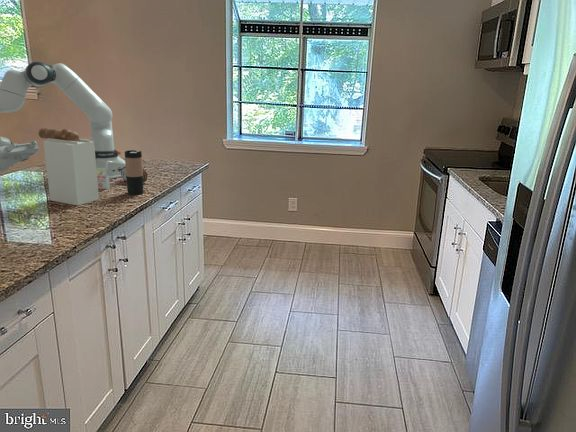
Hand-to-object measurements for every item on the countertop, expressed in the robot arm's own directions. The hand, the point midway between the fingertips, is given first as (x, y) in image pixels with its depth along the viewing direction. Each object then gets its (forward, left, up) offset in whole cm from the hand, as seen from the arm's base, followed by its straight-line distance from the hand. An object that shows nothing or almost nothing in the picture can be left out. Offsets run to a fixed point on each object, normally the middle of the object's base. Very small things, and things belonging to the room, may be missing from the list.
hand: (25, 143), depth 200 cm
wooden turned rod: (-11, +18, +3) cm, 21 cm away
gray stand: (-13, +23, -23) cm, 35 cm away
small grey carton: (-29, +8, -23) cm, 38 cm away
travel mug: (-40, +24, -23) cm, 52 cm away
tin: (-47, +3, -23) cm, 52 cm away
